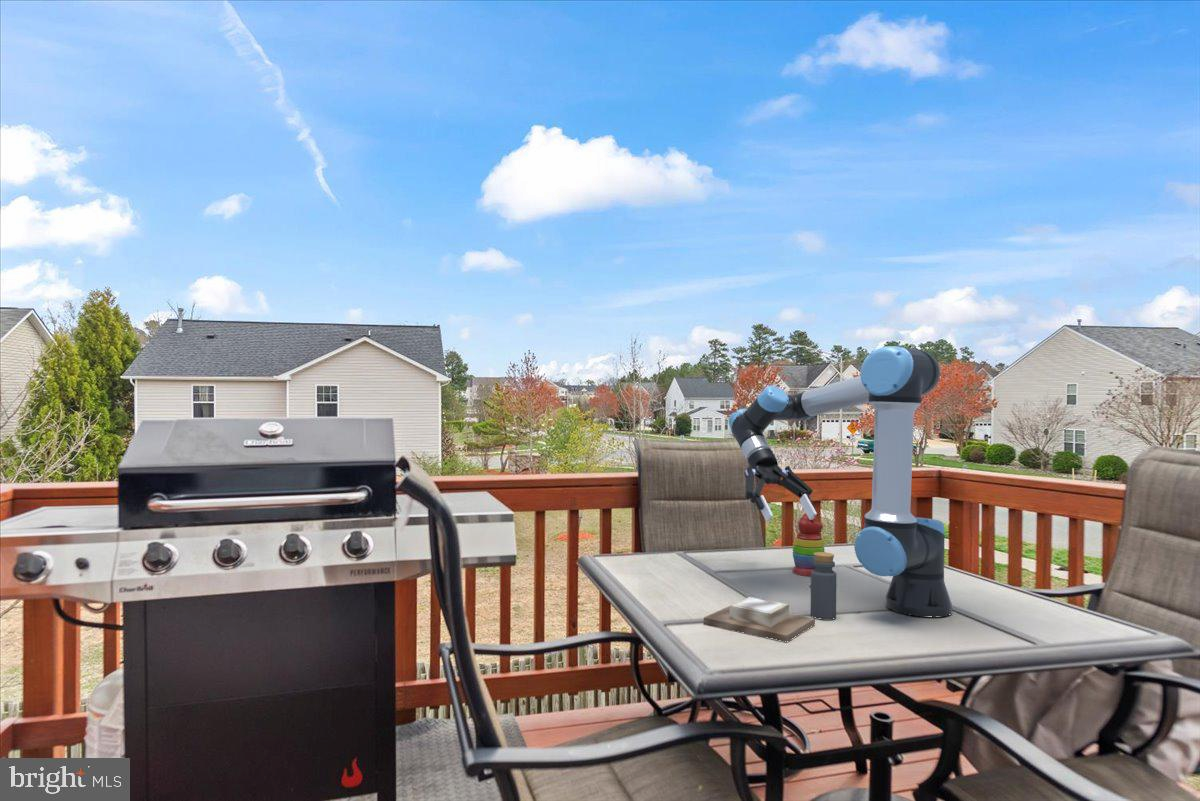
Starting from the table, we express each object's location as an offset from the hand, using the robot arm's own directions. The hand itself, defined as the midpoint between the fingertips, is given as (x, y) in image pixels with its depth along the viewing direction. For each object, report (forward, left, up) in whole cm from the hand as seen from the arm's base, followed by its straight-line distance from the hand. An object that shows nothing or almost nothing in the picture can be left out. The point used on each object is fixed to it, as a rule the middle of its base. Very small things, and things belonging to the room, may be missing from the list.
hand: (792, 517), depth 181 cm
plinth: (-3, +25, -21) cm, 33 cm away
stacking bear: (+8, -34, -22) cm, 42 cm away
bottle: (-12, +9, -22) cm, 26 cm away
